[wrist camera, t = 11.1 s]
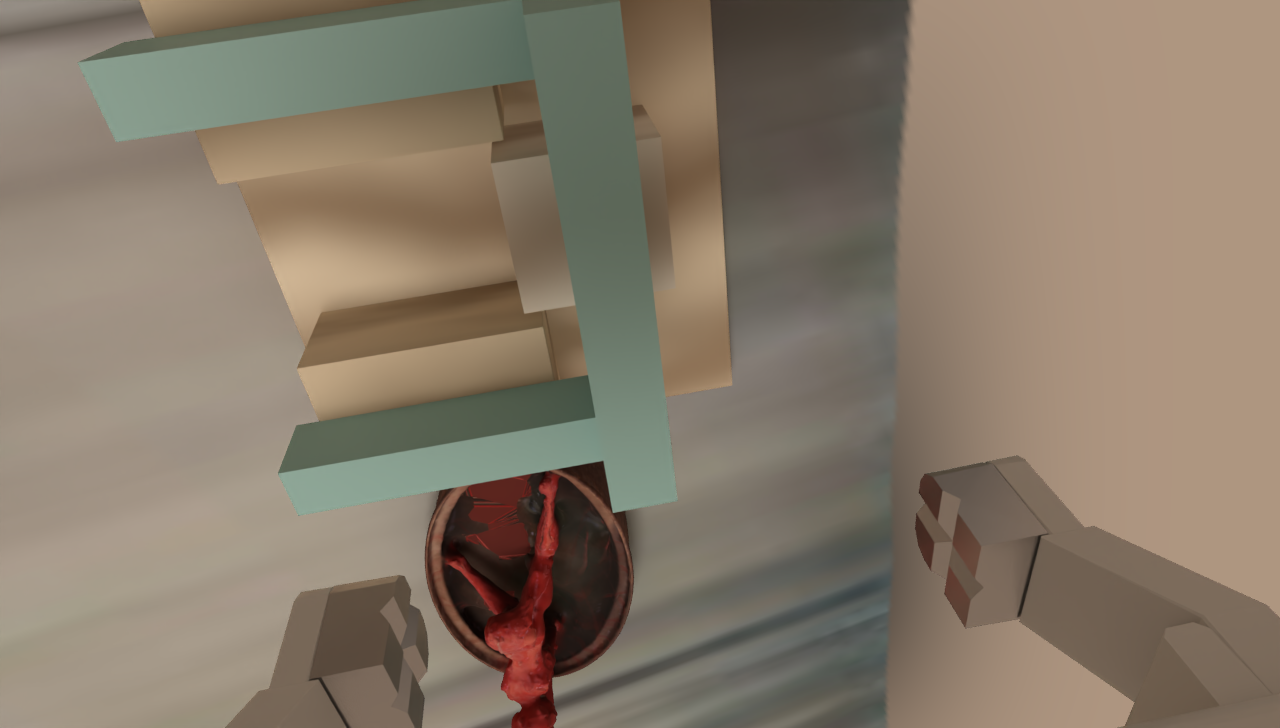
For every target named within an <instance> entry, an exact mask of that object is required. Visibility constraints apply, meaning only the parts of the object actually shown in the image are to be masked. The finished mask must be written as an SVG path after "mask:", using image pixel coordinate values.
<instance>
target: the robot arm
mask: <svg viewBox="0 0 1280 728" xmlns="http://www.w3.org/2000/svg"><path fill="white" fill-rule="evenodd" d="M919 494H920V495H921V497H922V498H923V499H924V501H925V504H924V505H923V506H922V507H921V508H920V510H919V511H918V512H917V513H916V525H915V526H916V527H915V530H916V535H917V540H918V546H919V548H920V550H921V553H922V556H923V558H924V560H925V562H926V563H927V565H928V567H929V568H930V570H931V571H932V572H934V573H936V574H937V575H939V576H941V577H942V578H944V579H946V586H945V593H944V594H945V595H946V597H947V599H948V600H949V602H950V604H951V605H952V607H953V609H954V610H955V612H956V614H957V615H958V617H959V619H960V620H961V622H962V623H963V625H964V627H965V628H971V627H976V626H982V625H988V624H994V623H1000V622H1005V621H1011V620H1017V619H1020V621H1019V622H1021V623H1022V624H1023V625H1025V626H1026V627H1028V628H1029V629H1030V630H1032V631H1033V632H1035V633H1036V634H1038V635H1039V636H1041V637H1042V638H1043V639H1045V640H1046V641H1048V642H1049V643H1051V644H1052V645H1053V646H1055V647H1056V648H1058V649H1059V650H1061V651H1062V652H1064V653H1065V654H1066V655H1068V656H1069V657H1071V658H1072V659H1073V660H1075V661H1077V662H1078V663H1080V664H1081V665H1082V666H1083V667H1085V668H1086V669H1088V670H1089V671H1091V672H1092V673H1094V674H1095V675H1097V676H1098V677H1099V678H1101V679H1102V680H1104V681H1105V682H1106V683H1108V684H1109V685H1111V686H1112V687H1113V688H1115V689H1116V690H1118V691H1119V692H1121V693H1122V694H1124V695H1125V696H1126V697H1128V698H1129V699H1131V700H1132V701H1134V702H1135V703H1134V705H1133V708H1132V710H1131V712H1130V715H1129V717H1128V720H1127V722H1126V724H1125V726H1123V727H1119V728H1280V618H1279V617H1278V615H1277V614H1275V613H1274V612H1273V611H1272V610H1271V609H1270V608H1269V607H1268V606H1267V605H1265V604H1263V603H1261V602H1259V601H1257V600H1255V599H1252V598H1250V597H1248V596H1246V595H1244V594H1241V593H1239V592H1237V591H1235V590H1233V589H1230V588H1228V587H1226V586H1224V585H1222V584H1220V583H1217V582H1215V581H1213V580H1211V579H1209V578H1207V577H1204V576H1202V575H1200V574H1198V573H1195V572H1193V571H1191V570H1189V569H1187V568H1184V567H1182V566H1180V565H1178V564H1176V563H1174V562H1172V561H1169V560H1167V559H1165V558H1163V557H1161V556H1158V555H1156V554H1154V553H1152V552H1150V551H1147V550H1145V549H1143V548H1141V547H1139V546H1137V545H1134V544H1132V543H1130V542H1128V541H1126V540H1123V539H1121V538H1119V537H1117V536H1115V535H1112V534H1110V533H1108V532H1106V531H1104V530H1102V529H1099V528H1097V527H1095V526H1091V527H1086V528H1085V527H1084V526H1083V525H1082V524H1081V523H1080V522H1079V521H1078V519H1077V518H1076V517H1075V516H1074V515H1073V514H1072V513H1071V511H1070V510H1069V509H1068V508H1067V507H1066V506H1065V505H1064V503H1063V502H1062V501H1061V500H1060V499H1059V498H1058V497H1057V495H1056V494H1055V493H1054V492H1053V491H1052V490H1051V489H1050V488H1049V486H1048V485H1047V484H1046V483H1045V482H1044V481H1043V479H1042V478H1041V477H1040V476H1039V475H1038V474H1037V473H1036V472H1035V470H1034V469H1033V468H1032V467H1031V466H1030V465H1029V464H1028V462H1027V461H1026V460H1025V459H1023V458H1021V457H1019V456H1012V457H1007V458H1002V459H997V460H992V461H987V462H985V463H983V462H982V463H977V464H972V465H967V466H962V467H957V468H952V469H947V470H942V471H937V472H932V473H927V474H924V476H923V478H922V479H921V481H920V489H919ZM410 596H411V589H410V587H409V585H408V583H407V580H406V578H405V576H401V575H397V576H391V577H385V578H379V579H373V580H367V581H361V582H355V583H349V584H343V585H337V586H334V587H329V588H323V589H317V590H311V591H305V592H301V593H300V594H299V596H298V597H297V598H296V600H295V601H294V603H293V607H292V610H291V614H290V617H289V621H288V624H287V628H286V631H285V635H284V638H283V642H282V645H281V649H280V652H279V656H278V659H277V663H276V666H275V670H274V673H273V677H272V680H271V684H270V687H269V689H266V690H262V691H258V692H257V694H256V695H255V696H254V697H253V698H252V699H251V700H250V701H249V702H248V703H247V704H246V706H245V707H244V708H243V709H242V710H241V711H240V712H239V713H238V714H237V715H236V716H235V717H234V719H233V720H232V721H231V722H230V723H229V724H228V725H227V726H226V727H225V728H422V720H423V710H424V700H425V698H424V695H423V693H422V691H421V689H420V686H419V684H418V683H419V681H420V680H421V679H422V677H423V676H424V675H425V673H426V672H427V667H428V654H429V653H428V639H427V631H426V627H425V623H424V619H423V617H422V615H421V612H420V610H419V609H418V608H416V607H414V606H412V605H410Z"/></svg>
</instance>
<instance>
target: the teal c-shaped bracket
mask: <svg viewBox="0 0 1280 728" xmlns="http://www.w3.org/2000/svg"><path fill="white" fill-rule="evenodd" d="M78 65H79V67H80V69H81V71H82V73H83V75H84V77H85V79H86V81H87V83H88V85H89V87H90V89H91V91H92V93H93V95H94V97H95V99H96V102H97V104H98V106H99V108H100V110H101V112H102V114H103V116H104V118H105V120H106V122H107V124H108V126H109V128H110V130H111V132H112V134H113V136H114V138H115V140H116V142H120V141H127V140H134V139H140V138H147V137H154V136H160V135H167V134H174V133H180V132H187V131H194V130H200V129H207V128H214V127H220V126H227V125H234V124H240V123H247V122H254V121H260V120H267V119H274V118H280V117H287V116H294V115H300V114H307V113H314V112H320V111H327V110H334V109H340V108H347V107H354V106H360V105H367V104H374V103H380V102H387V101H394V100H400V99H407V98H414V97H420V96H427V95H434V94H440V93H447V92H454V91H460V90H467V89H474V88H480V87H487V86H494V85H500V84H507V83H514V82H520V81H527V80H534V79H535V83H536V89H537V94H538V100H539V105H540V111H541V116H542V122H543V127H544V133H545V139H546V144H547V150H548V155H549V161H550V166H551V172H552V178H553V183H554V189H555V194H556V200H557V205H558V211H559V216H560V222H561V228H562V233H563V239H564V244H565V250H566V255H567V261H568V266H569V272H570V278H571V283H572V289H573V294H574V300H575V305H576V311H577V316H578V322H579V328H580V333H581V339H582V344H583V350H584V355H585V361H586V366H587V372H588V375H585V376H579V377H573V378H567V379H562V380H556V381H550V382H544V383H539V384H533V385H527V386H521V387H516V388H510V389H504V390H498V391H493V392H487V393H481V394H475V395H470V396H464V397H458V398H452V399H446V400H441V401H435V402H429V403H423V404H418V405H412V406H406V407H400V408H395V409H389V410H383V411H377V412H372V413H366V414H360V415H354V416H348V417H343V418H337V419H331V420H325V421H320V422H314V423H308V424H302V425H297V426H296V428H295V431H294V433H293V436H292V439H291V441H290V444H289V446H288V449H287V451H286V454H285V457H284V459H283V462H282V464H281V467H280V470H279V472H278V475H279V477H280V479H281V481H282V483H283V485H284V487H285V489H286V491H287V493H288V495H289V497H290V499H291V501H292V504H293V506H294V508H295V510H296V512H297V514H298V516H300V515H305V514H311V513H316V512H322V511H327V510H333V509H338V508H344V507H350V506H355V505H361V504H366V503H372V502H377V501H383V500H388V499H394V498H399V497H405V496H411V495H416V494H422V493H427V492H433V491H438V490H444V489H449V488H455V487H460V486H466V485H472V484H477V483H483V482H488V481H494V480H499V479H505V478H510V477H516V476H521V475H527V474H532V473H538V472H544V471H549V470H555V469H560V468H566V467H571V466H577V465H582V464H588V463H593V462H599V461H604V467H605V472H606V478H607V483H608V489H609V494H610V500H611V505H612V511H613V513H615V512H620V511H626V510H631V509H637V508H642V507H648V506H653V505H658V504H664V503H669V502H675V501H678V500H677V492H676V483H675V474H674V466H673V457H672V448H671V440H670V431H669V422H668V414H667V405H666V396H665V388H664V379H663V370H662V362H661V353H660V345H659V336H658V327H657V319H656V310H655V301H654V293H653V284H652V275H651V267H650V258H649V249H648V241H647V232H646V223H645V215H644V206H643V197H642V189H641V180H640V171H639V163H638V154H637V145H636V137H635V128H634V119H633V111H632V102H631V93H630V85H629V76H628V67H627V59H626V50H625V41H624V33H623V24H622V16H621V7H620V1H619V0H417V1H410V2H403V3H396V4H389V5H382V6H375V7H368V8H361V9H354V10H347V11H340V12H333V13H326V14H319V15H312V16H305V17H298V18H291V19H284V20H277V21H270V22H263V23H256V24H249V25H242V26H235V27H228V28H221V29H214V30H207V31H200V32H193V33H186V34H179V35H172V36H165V37H158V38H151V39H144V40H137V41H130V42H124V43H121V44H119V45H117V46H114V47H112V48H110V49H108V50H105V51H103V52H101V53H98V54H96V55H94V56H91V57H89V58H87V59H85V60H82V61H80V62H78Z"/></svg>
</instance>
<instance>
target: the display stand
mask: <svg viewBox="0 0 1280 728" xmlns="http://www.w3.org/2000/svg"><path fill="white" fill-rule="evenodd" d="M139 1H140V4H141V6H142V8H143V11H144V13H145V15H146V18H147V20H148V22H149V25H150V27H151V29H152V32H153V34H154V36H155V38H158V37H165V36H172V35H179V34H186V33H193V32H200V31H207V30H214V29H221V28H228V27H235V26H242V25H249V24H256V23H263V22H270V21H277V20H284V19H291V18H298V17H305V16H312V15H319V14H326V13H333V12H340V11H347V10H354V9H361V8H368V7H375V6H382V5H389V4H396V3H403V2H410V1H417V0H139ZM619 1H620V7H621V16H622V24H623V33H624V41H625V50H626V59H627V67H628V76H629V85H630V93H631V102H632V111H633V119H634V128H635V137H636V145H637V154H638V163H639V171H640V180H641V189H642V197H643V206H644V215H645V223H646V232H647V241H648V249H649V258H650V267H651V275H652V284H653V293H654V301H655V310H656V319H657V327H658V336H659V345H660V353H661V362H662V370H663V379H664V388H665V396H666V397H669V396H674V395H680V394H686V393H691V392H697V391H703V390H708V389H714V388H720V387H725V386H731V385H732V374H731V356H730V338H729V321H728V303H727V286H726V268H725V251H724V233H723V215H722V198H721V180H720V163H719V145H718V127H717V110H716V92H715V75H714V57H713V40H712V22H711V4H710V0H619ZM195 132H196V134H197V137H198V139H199V141H200V144H201V146H202V148H203V151H204V153H205V155H206V158H207V160H208V162H209V165H210V167H211V169H212V172H213V174H214V176H215V179H216V181H217V183H218V184H224V183H231V182H237V183H238V185H239V188H240V190H241V193H242V195H243V197H244V200H245V202H246V205H247V207H248V210H249V212H250V214H251V217H252V219H253V222H254V224H255V226H256V229H257V231H258V234H259V236H260V239H261V241H262V243H263V246H264V248H265V251H266V253H267V256H268V258H269V260H270V263H271V265H272V268H273V270H274V272H275V275H276V277H277V280H278V282H279V285H280V287H281V289H282V292H283V294H284V297H285V299H286V302H287V304H288V306H289V309H290V311H291V314H292V316H293V318H294V321H295V323H296V326H297V328H298V331H299V333H300V335H301V338H302V340H303V343H304V345H305V351H304V353H303V355H302V358H301V360H300V362H299V365H298V367H297V370H298V373H299V375H300V377H301V380H302V382H303V384H304V387H305V389H306V391H307V394H308V396H309V398H310V401H311V403H312V405H313V408H314V410H315V412H316V415H317V417H318V419H319V422H320V421H325V420H331V419H337V418H343V417H348V416H354V415H360V414H366V413H372V412H377V411H383V410H389V409H395V408H400V407H406V406H412V405H418V404H423V403H429V402H435V401H441V400H446V399H452V398H458V397H464V396H470V395H475V394H481V393H487V392H493V391H498V390H504V389H510V388H516V387H521V386H527V385H533V384H539V383H544V382H550V381H556V380H562V379H567V378H573V377H579V376H585V375H588V372H587V366H586V361H585V355H584V350H583V344H582V339H581V333H580V328H579V322H578V316H577V311H576V305H575V300H574V294H573V289H572V283H571V278H570V272H569V266H568V261H567V255H566V250H565V244H564V239H563V233H562V228H561V222H560V216H559V211H558V205H557V200H556V194H555V189H554V183H553V178H552V172H551V166H550V161H549V155H548V150H547V144H546V139H545V133H544V127H543V122H542V116H541V111H540V105H539V100H538V94H537V89H536V83H535V79H534V80H527V81H520V82H514V83H507V84H500V85H494V86H487V87H480V88H474V89H467V90H460V91H454V92H447V93H440V94H434V95H427V96H420V97H414V98H407V99H400V100H394V101H387V102H380V103H374V104H367V105H360V106H354V107H347V108H340V109H334V110H327V111H320V112H314V113H307V114H300V115H294V116H287V117H280V118H274V119H267V120H260V121H254V122H247V123H240V124H234V125H227V126H220V127H214V128H207V129H200V130H195Z"/></svg>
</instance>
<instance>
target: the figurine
mask: <svg viewBox="0 0 1280 728" xmlns="http://www.w3.org/2000/svg"><path fill="white" fill-rule="evenodd" d="M425 571H426V578H427V584H428V589H429V592H430V595H431V598H432V601H433V603H434V606H435V607H436V610H437V612H438V614H439V616H440V618H441V620H442V621H443V623H444V624H445V626H446V627H447V629H448V631H449V632H450V634H451V635H452V636H453V637H454V639H455V640H456V641H457V642H458V643H459V644H460V645H461V646H462V647H463V648H464V649H465V650H466V651H467V652H468V653H469V654H471V655H472V656H473V657H475V658H476V659H478V660H479V661H481V662H482V663H484V664H485V665H487V666H489V667H491V668H493V669H495V670H497V671H500V672H503V673H504V677H503V681H502V684H501V690H503V691H505V692H506V694H507V696H508V698H509V699H510V700H514V701H516V702H518V703H519V704H520V705H521V707H522V709H521V711H520V712H517V713H516V714H515V715H514V717H513V719H512V728H554V726H553V725H554V723H555V722H556V716H557V712H556V710H555V706H554V699H553V690H552V678H553V677H560V676H564V675H568V674H571V673H574V672H576V671H578V670H581V669H583V668H585V667H586V666H588V665H590V664H591V663H593V662H594V661H595V660H597V659H598V658H599V657H600V656H602V655H603V654H604V653H605V652H606V651H607V650H608V649H609V647H610V646H611V645H612V644H613V643H614V641H615V640H616V638H617V637H618V636H619V634H620V632H621V630H622V628H623V626H624V624H625V621H626V619H627V616H628V613H629V610H630V605H631V601H632V595H633V584H634V579H633V578H634V575H633V564H632V557H631V552H630V549H629V540H628V529H627V522H626V516H625V511H620V512H615V513H613V511H612V505H611V500H610V494H609V489H608V483H607V478H606V472H605V467H604V461H599V462H593V463H588V464H582V465H577V466H571V467H566V468H560V469H555V470H549V471H544V472H538V473H532V474H527V475H521V476H516V477H510V478H505V479H499V480H494V481H488V482H483V483H477V484H472V485H466V486H460V487H455V488H449V489H444V490H440V492H439V496H438V500H437V504H436V509H435V511H434V513H433V515H432V518H431V521H430V524H429V528H428V532H427V538H426V546H425Z"/></svg>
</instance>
